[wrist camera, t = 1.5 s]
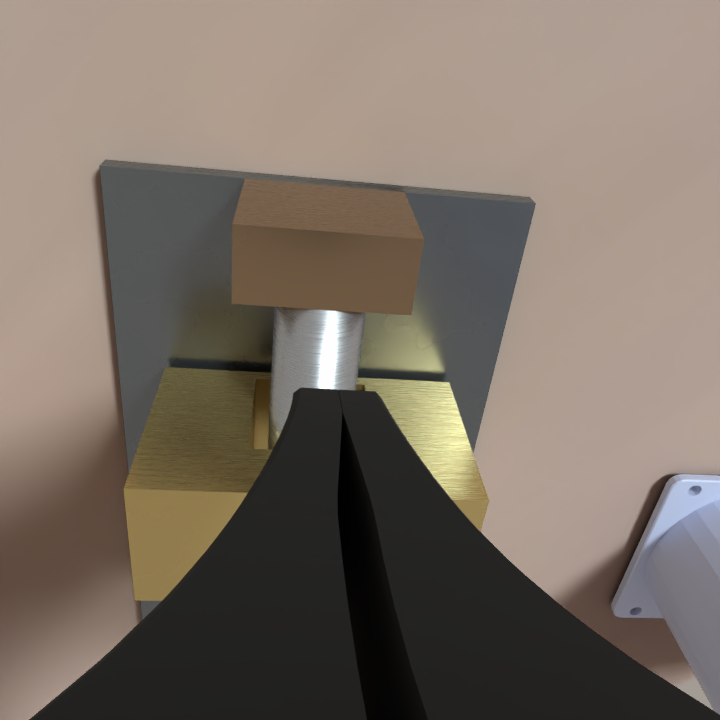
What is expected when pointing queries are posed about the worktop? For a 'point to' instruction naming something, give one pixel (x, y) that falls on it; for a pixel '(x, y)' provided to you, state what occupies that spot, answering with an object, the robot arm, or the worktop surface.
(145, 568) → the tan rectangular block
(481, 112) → the worktop surface
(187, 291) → the pipe rig
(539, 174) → the worktop surface
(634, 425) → the worktop surface
